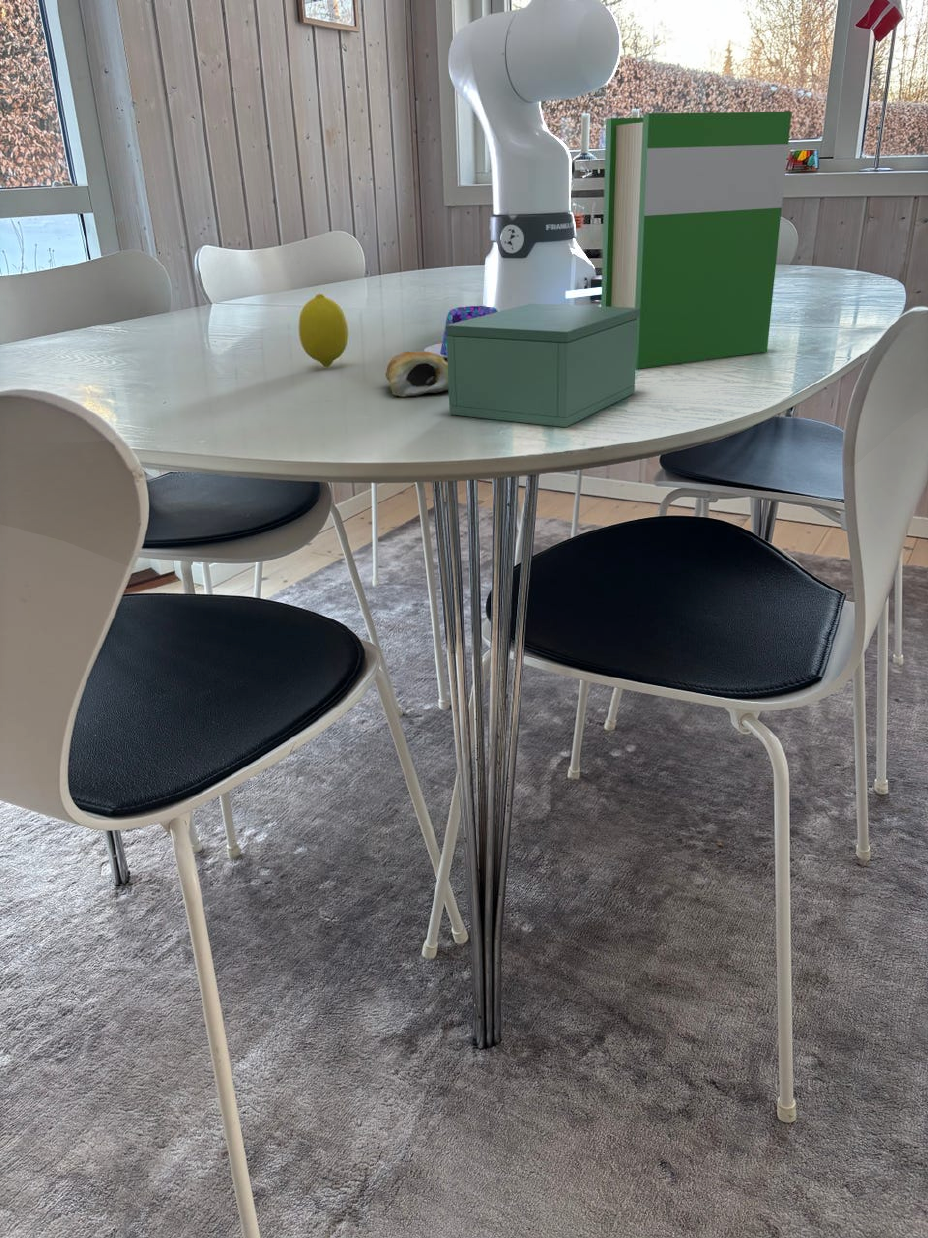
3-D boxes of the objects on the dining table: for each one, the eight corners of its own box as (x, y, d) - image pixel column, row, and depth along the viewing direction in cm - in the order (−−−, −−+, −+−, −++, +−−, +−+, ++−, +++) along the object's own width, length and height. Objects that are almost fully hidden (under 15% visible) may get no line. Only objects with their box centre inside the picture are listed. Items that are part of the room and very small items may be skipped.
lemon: (342, 371, 103) (335, 296, 100) (295, 371, 104) (287, 296, 101) (357, 362, 108) (351, 290, 104) (312, 362, 109) (305, 291, 106)
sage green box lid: (529, 312, 91) (529, 303, 90) (640, 317, 85) (640, 307, 85) (446, 335, 79) (445, 325, 79) (567, 342, 74) (567, 331, 73)
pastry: (381, 380, 97) (378, 343, 96) (444, 376, 98) (442, 339, 97) (391, 398, 89) (389, 358, 87) (460, 394, 90) (458, 354, 88)
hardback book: (637, 368, 98) (648, 112, 88) (599, 358, 104) (606, 118, 94) (767, 351, 105) (791, 111, 94) (724, 343, 111) (743, 116, 101)
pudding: (415, 364, 106) (412, 316, 103) (434, 346, 116) (432, 302, 114) (519, 363, 104) (518, 314, 101) (529, 345, 114) (529, 301, 112)
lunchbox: (527, 383, 93) (527, 313, 90) (635, 393, 88) (638, 318, 85) (449, 414, 82) (446, 335, 79) (565, 427, 77) (567, 343, 74)
